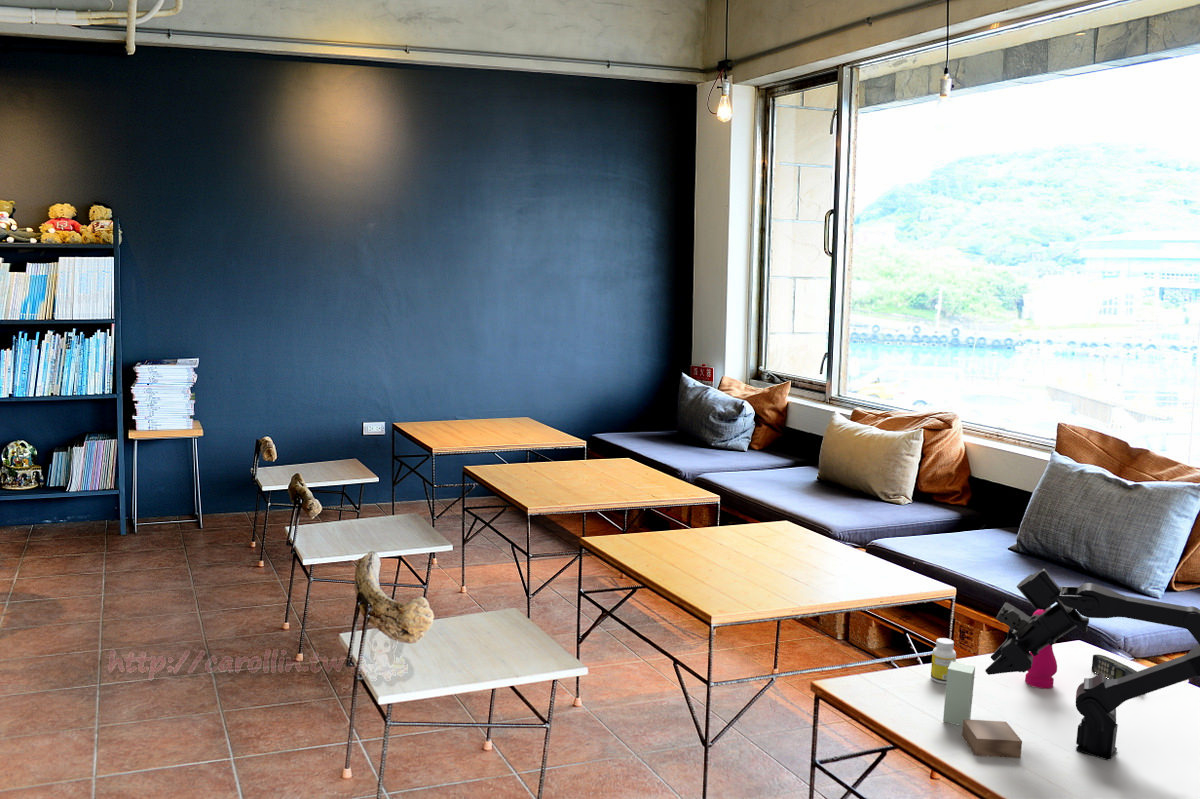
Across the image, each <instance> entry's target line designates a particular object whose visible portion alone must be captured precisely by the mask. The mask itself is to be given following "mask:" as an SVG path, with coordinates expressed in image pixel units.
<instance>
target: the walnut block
mask: <svg viewBox="0 0 1200 799" xmlns="http://www.w3.org/2000/svg"><path fill="white" fill-rule="evenodd" d="M961 737H962V738H963V740H964V741H965V743H966V744H967V746H968V747H969V749H970V751H971V752H972V753H973V754H974V756H976V757H988V758H989V757H991V758H1006V759H1007V758H1008V759H1010V758H1011V759H1021V758H1022V757H1021V754H1022V745H1023V740H1022V739H1021V738H1020V736H1019V735H1018V734H1017V733H1016V732H1015V730H1014V729H1013V728H1012V727H1011V725H1010V724H1009V723H1008V722H1007V721H1001V720H984V719H982V720H981V719H970V720H968V719H963V726H962V728H961Z"/></svg>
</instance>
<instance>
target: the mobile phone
mask: <svg viewBox="0 0 1200 799" xmlns="http://www.w3.org/2000/svg"><path fill="white" fill-rule="evenodd" d="M1091 662H1092V663H1091V664H1092V665H1091V671H1092V672H1093V673H1094V672H1096V673H1098V674H1101V673H1103V674H1104V676H1105V677H1107V678H1109V679H1118V678H1121V677H1124V676H1126V675H1129V674H1132V673H1135V672H1138V671H1137V670H1136V669H1134V668H1132V667H1130V666H1128V665H1127V664H1126V665H1125V664H1124V663H1121V662H1119V661H1117V660H1115V659H1114V658H1111V657H1108V656H1106V655H1104V654H1103V655H1102V654H1093V655H1092V661H1091ZM1096 673H1095V674H1096ZM1098 674H1097V675H1098Z"/></svg>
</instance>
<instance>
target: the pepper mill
mask: <svg viewBox="0 0 1200 799" xmlns="http://www.w3.org/2000/svg"><path fill="white" fill-rule="evenodd" d="M1051 607H1052V605H1051V606H1050V607H1049V608H1047V609H1045V610H1042V609H1041V610H1040V609H1039V608H1037V609H1035V611H1034V612H1033V614H1032V616H1033V615H1037V614H1038V615H1041V614H1042V613H1044V612H1045V611H1047V610H1048V609H1050V608H1051ZM1029 653H1030V654H1031V655H1032V656H1033V654H1032V653H1031V652H1029ZM1057 672H1058V664H1057V659H1056V656H1055V653H1054V650H1053V645H1051V646H1050V644H1049V645H1047V646H1046V647H1044V648H1043V649H1041V650H1040V651H1039V653H1038V654H1037V655H1036V656H1033V663H1032V666H1031V668H1030V669H1029V670H1027V671H1026V672H1025V678H1024V679H1025V680H1024V682H1025V683H1026V684H1027V685H1029V686H1030V687H1034V688H1038V689H1044V690H1045V689H1052V688H1054V684H1055V683H1054V682H1055V681H1054V680H1055V679H1054V677H1053V676H1055V675H1056V673H1057Z"/></svg>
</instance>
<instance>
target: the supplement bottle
mask: <svg viewBox="0 0 1200 799" xmlns="http://www.w3.org/2000/svg"><path fill="white" fill-rule="evenodd" d="M935 641H936V642H935V647H934V648H933V650H932V654H931V655H932V656H931V668H930V679H931V680H932V682H936V683H938V684H944V685H946V683H947V672H948V667H949V665H950V663H951V661H953V662H957V653H956V652H957V651H955V649H954V647H955V645H954V644H955V642H954V640H952V639H950V638H946V637H939V638H937V639H936V640H935Z"/></svg>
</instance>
